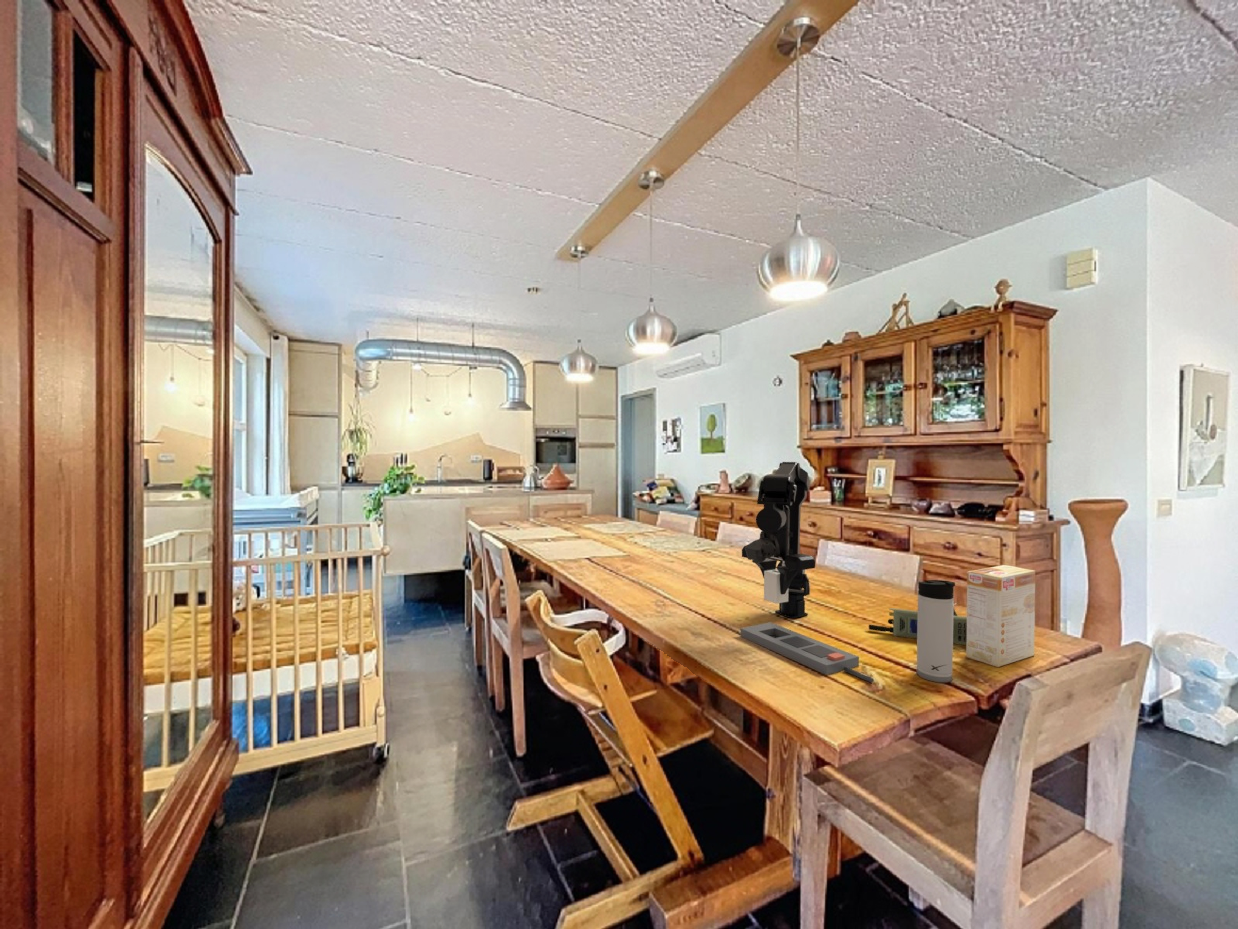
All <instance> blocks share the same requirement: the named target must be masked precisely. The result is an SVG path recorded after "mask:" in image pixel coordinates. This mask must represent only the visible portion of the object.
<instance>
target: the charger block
mask: <svg viewBox="0 0 1238 929" xmlns="http://www.w3.org/2000/svg"><path fill="white" fill-rule="evenodd" d="M763 600H764V601H767V602H770V603H773V604H776V605H778V604H779V603H783V602H788V589H787V591H786V593H785V594H781V591H780V573H779V571H778V570H777V568H776V569H775V570H767V571H764V578H763Z"/></svg>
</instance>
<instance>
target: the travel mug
mask: <svg viewBox="0 0 1238 929" xmlns="http://www.w3.org/2000/svg"><path fill="white" fill-rule="evenodd" d="M917 586H918V592H917V596H918V597H917V611H918V622H917V639H916V642H917V643H916V674H917V675H918V676H919V677H920V678H922V679H924V680H927V681H930V682H935V683H940V684H941V683H949V682H952V680H953V668H954V666H953V664H954V663H953V662H954V661H953V660H954V659H953V658H954V652H953V651H954V644H953V609H954V610H955V606H954V602H955V601H954V587H956V582H954V581H951V580H950V581H949V580H941V579H930V580H929V579H928V580H924V581H918V585H917Z"/></svg>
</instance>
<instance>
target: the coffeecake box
mask: <svg viewBox="0 0 1238 929" xmlns="http://www.w3.org/2000/svg"><path fill="white" fill-rule="evenodd" d="M1035 611H1036V570H1033V569H1029V568H1023V567H1019V566H1013V565H1007V564H1001V565H997V566H992V567H985V568H980V569H975V570H974V569H973V570H969V571H966V617H967V640H966V645H965V646H966V649H965V650H966V651H965V652H966V654H965V657H966V658H968V659H972V660H975V661H978V662H981V663H984V664H987V665H990V666H993V667H995V668H1000V667H1002V666H1005V665H1008V664H1011V663H1015V662H1018V661H1021V660H1025V659H1027V658H1028V659H1029V658H1030V657H1033V656H1035V629H1036V628H1035V624H1036V622H1035V621H1036V620H1035V619H1036V616H1035V614H1036V612H1035Z"/></svg>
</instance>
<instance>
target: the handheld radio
mask: <svg viewBox="0 0 1238 929" xmlns="http://www.w3.org/2000/svg"><path fill="white" fill-rule="evenodd" d="M888 609H889V610H890V611H889V612H888V615H889V617H892V618H889V619H888V620H887V623H888V624H889V625H892V626H893V627H891V626H889V627H886V626H882V625H875V624H868V630H869V631H875V632H876V631H877V632H884V633H886V632H888V633H891V634H893V637H901V638H902V637H903V638H910V639H914V640H915V639H916V640H917V622H918V610H908V609H900V608H888ZM891 611H892V612H891ZM966 640H967V616H962V615H957V616H954V615H953V643H955V645H963V646H966Z"/></svg>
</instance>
